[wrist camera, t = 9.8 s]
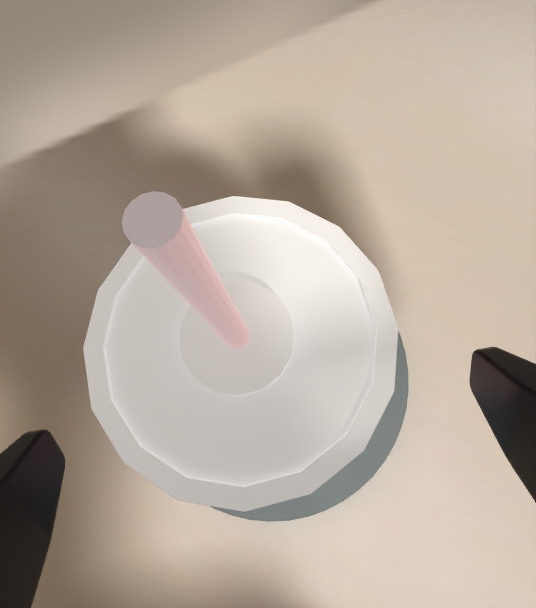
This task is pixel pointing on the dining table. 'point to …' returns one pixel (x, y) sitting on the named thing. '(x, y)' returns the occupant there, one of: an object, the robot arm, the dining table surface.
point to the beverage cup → (239, 350)
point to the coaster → (355, 470)
